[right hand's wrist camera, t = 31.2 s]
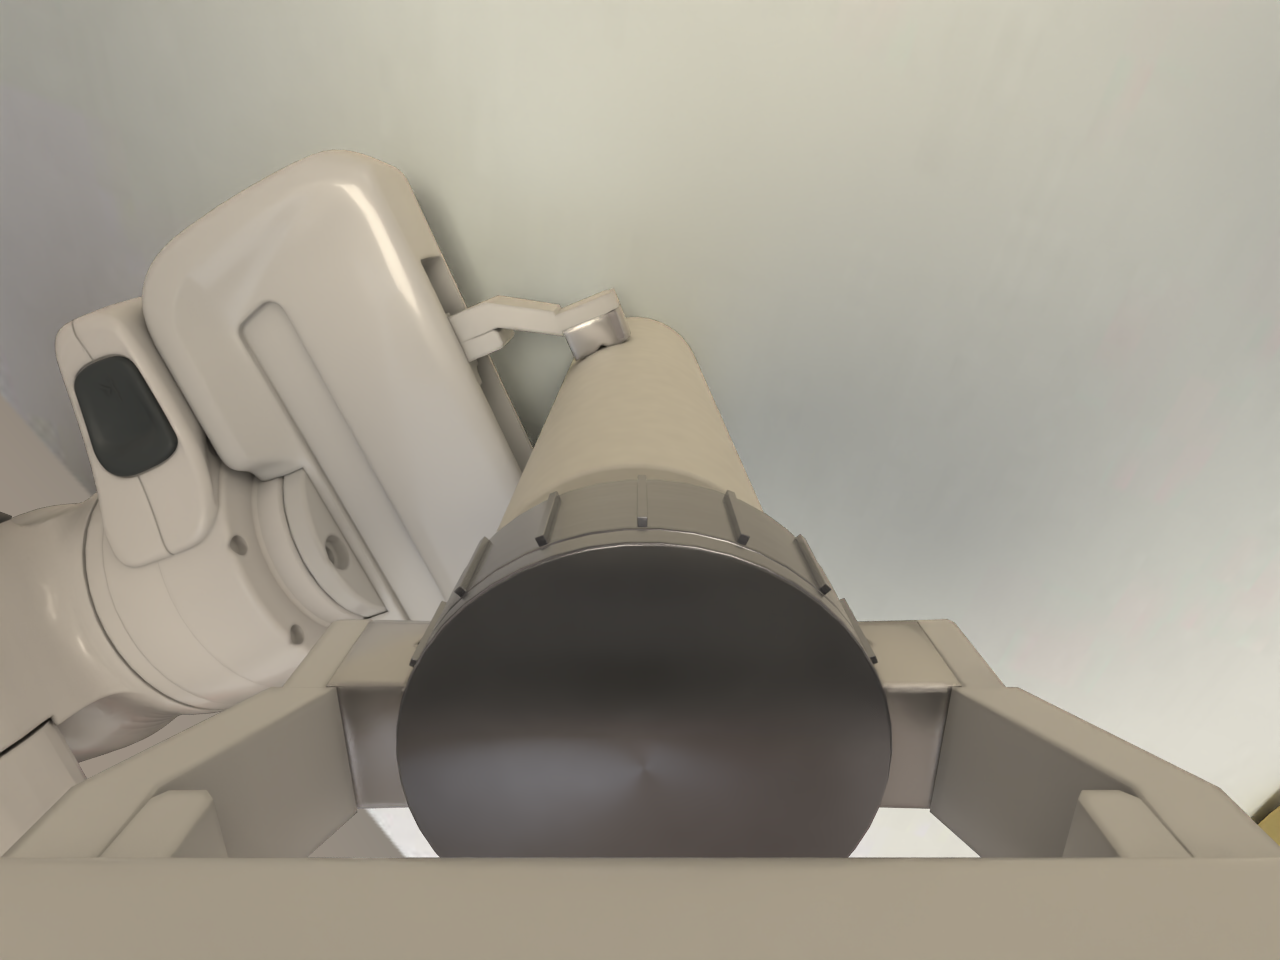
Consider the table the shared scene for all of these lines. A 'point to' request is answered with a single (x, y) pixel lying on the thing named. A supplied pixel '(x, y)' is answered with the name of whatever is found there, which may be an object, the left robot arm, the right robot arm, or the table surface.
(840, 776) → the lid
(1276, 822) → the toy gun
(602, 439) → the beige tall cylinder
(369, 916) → the right robot arm
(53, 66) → the table surface
